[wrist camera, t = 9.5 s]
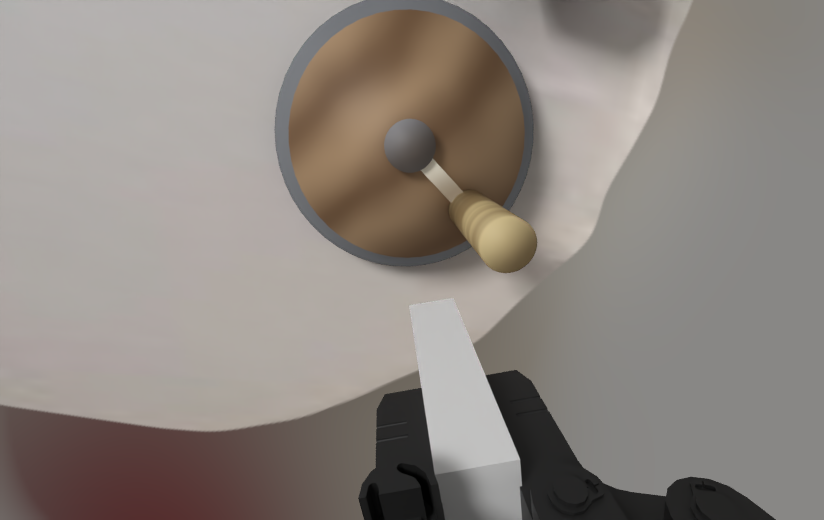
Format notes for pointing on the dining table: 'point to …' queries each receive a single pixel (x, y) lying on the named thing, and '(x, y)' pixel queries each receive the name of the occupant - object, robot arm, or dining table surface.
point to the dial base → (372, 4)
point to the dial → (412, 140)
